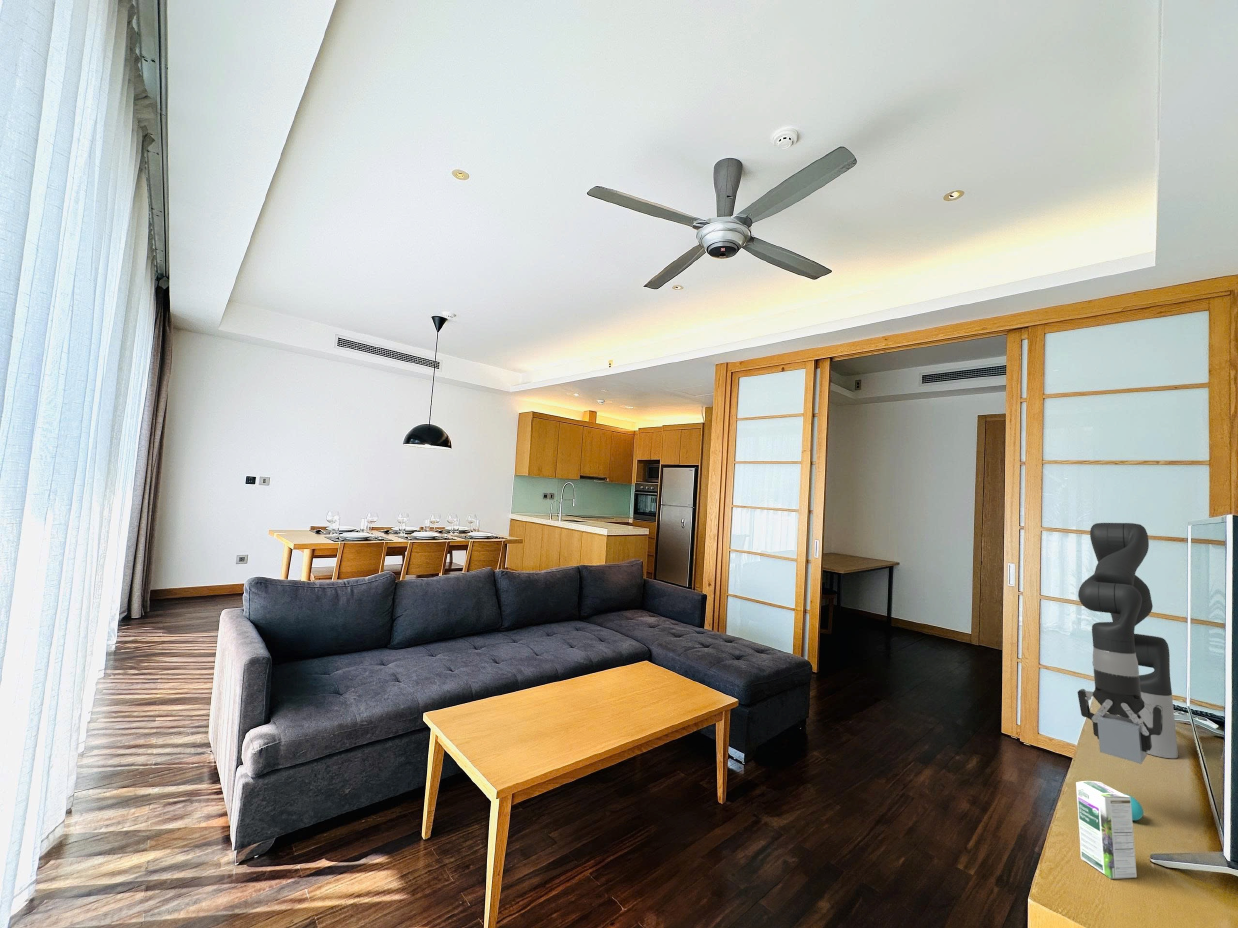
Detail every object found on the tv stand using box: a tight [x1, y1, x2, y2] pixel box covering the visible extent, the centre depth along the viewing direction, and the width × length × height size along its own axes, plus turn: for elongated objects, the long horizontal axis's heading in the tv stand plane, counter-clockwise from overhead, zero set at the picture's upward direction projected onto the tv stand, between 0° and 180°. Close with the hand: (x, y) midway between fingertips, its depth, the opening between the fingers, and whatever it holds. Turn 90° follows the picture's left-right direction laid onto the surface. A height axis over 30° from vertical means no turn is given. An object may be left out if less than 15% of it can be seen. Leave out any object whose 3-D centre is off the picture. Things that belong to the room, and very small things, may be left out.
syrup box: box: [1075, 780, 1138, 880], centre depth 95 cm, size 6×6×14 cm
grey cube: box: [1097, 712, 1148, 765], centre depth 112 cm, size 7×7×7 cm
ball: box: [1121, 792, 1144, 821], centre depth 110 cm, size 5×5×5 cm
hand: (1122, 744), depth 112 cm, fingers closed on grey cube, 6 cm apart
